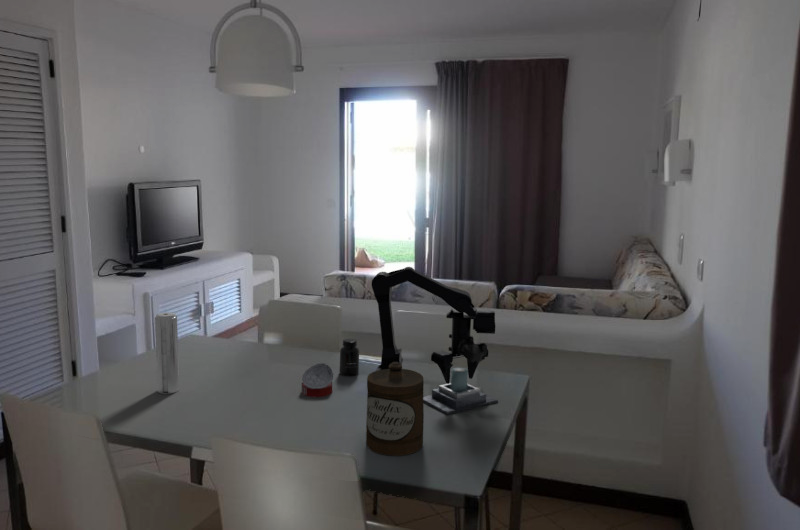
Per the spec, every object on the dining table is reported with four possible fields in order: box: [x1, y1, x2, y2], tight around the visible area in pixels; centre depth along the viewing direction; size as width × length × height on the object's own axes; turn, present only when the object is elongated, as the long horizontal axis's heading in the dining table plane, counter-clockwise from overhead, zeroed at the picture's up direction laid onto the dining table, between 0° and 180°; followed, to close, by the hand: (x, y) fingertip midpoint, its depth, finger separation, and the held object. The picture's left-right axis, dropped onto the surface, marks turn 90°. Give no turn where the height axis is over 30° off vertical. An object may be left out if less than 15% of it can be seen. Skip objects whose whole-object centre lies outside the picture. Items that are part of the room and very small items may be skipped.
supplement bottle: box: [338, 338, 360, 377], centre depth 214 cm, size 7×7×12 cm
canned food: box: [301, 363, 334, 398], centre depth 196 cm, size 11×10×10 cm
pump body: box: [450, 367, 469, 393], centre depth 190 cm, size 5×5×7 cm
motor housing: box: [423, 382, 499, 416], centre depth 190 cm, size 20×14×4 cm
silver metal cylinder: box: [154, 312, 180, 395], centre depth 193 cm, size 6×6×25 cm
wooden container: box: [365, 362, 425, 457], centre depth 158 cm, size 15×15×22 cm
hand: (459, 381), depth 190 cm, fingers open, 9 cm apart
